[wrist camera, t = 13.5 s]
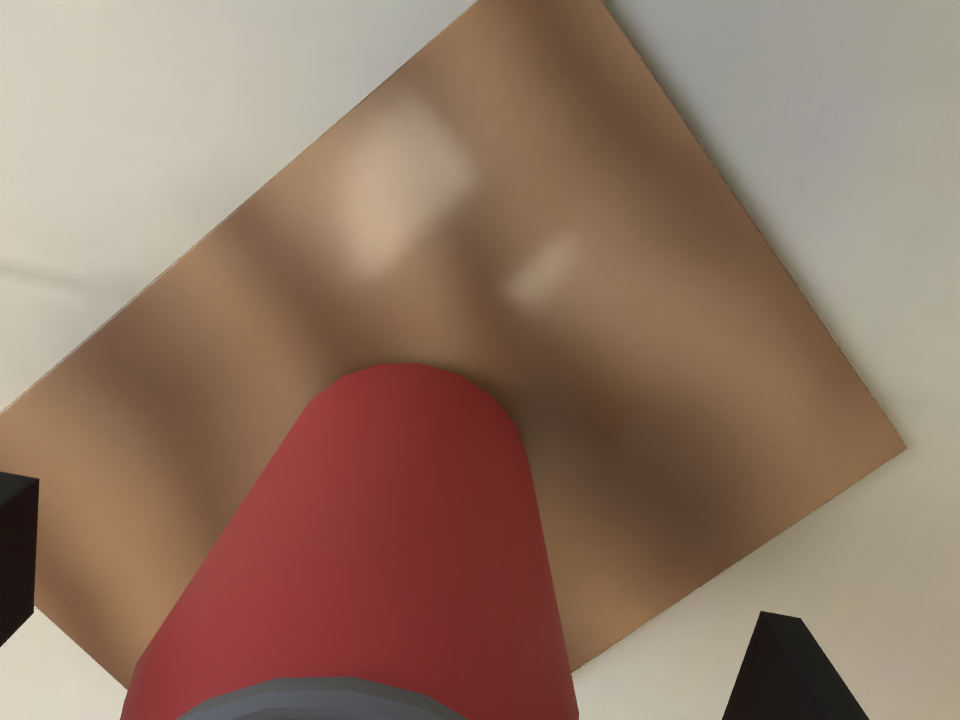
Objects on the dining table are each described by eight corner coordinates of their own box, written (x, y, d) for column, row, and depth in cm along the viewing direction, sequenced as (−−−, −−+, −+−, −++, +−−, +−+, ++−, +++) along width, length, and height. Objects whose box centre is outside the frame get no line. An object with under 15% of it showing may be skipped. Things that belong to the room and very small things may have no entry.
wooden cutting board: (553, -62, 17) (556, -69, 17) (898, 441, 21) (908, 448, 20) (-79, 484, 21) (-92, 492, 20) (307, 838, 24) (304, 852, 23)
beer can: (463, 613, 21) (457, 1159, 10) (249, 523, 20) (-39, 1001, 9) (571, 419, 20) (715, 790, 8) (344, 313, 19) (148, 558, 7)
